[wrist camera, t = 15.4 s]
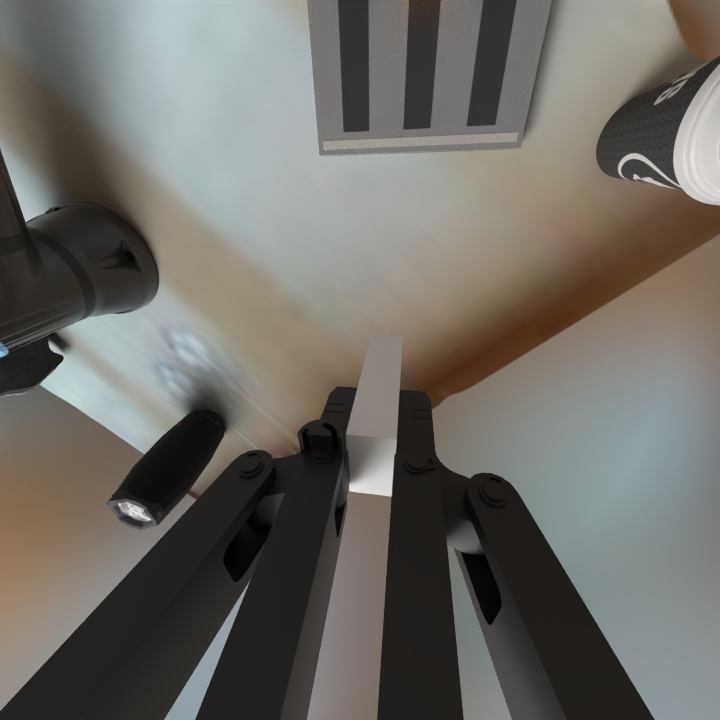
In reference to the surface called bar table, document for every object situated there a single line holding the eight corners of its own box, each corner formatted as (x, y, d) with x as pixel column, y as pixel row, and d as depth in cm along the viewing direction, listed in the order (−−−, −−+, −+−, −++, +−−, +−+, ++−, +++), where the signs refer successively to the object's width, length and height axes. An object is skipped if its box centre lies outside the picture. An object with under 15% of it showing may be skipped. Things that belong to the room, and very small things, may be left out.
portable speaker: (180, 404, 58) (89, 493, 42) (225, 409, 57) (150, 503, 40) (192, 435, 63) (114, 527, 46) (234, 440, 61) (169, 536, 45)
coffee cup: (718, 129, 27) (982, 89, 15) (610, 215, 32) (739, 241, 19) (667, 38, 25) (930, -102, 12) (558, 146, 30) (667, 123, 17)
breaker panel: (324, 156, 33) (305, 151, 27) (304, -120, 23) (267, -221, 17) (514, 148, 30) (539, 142, 24) (579, -167, 21) (647, -305, 15)
